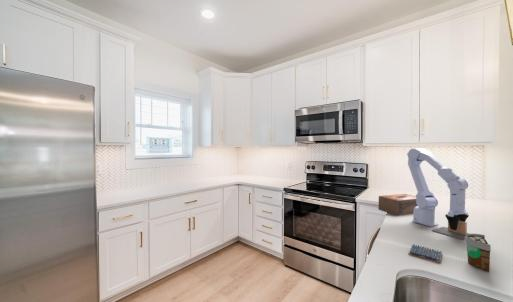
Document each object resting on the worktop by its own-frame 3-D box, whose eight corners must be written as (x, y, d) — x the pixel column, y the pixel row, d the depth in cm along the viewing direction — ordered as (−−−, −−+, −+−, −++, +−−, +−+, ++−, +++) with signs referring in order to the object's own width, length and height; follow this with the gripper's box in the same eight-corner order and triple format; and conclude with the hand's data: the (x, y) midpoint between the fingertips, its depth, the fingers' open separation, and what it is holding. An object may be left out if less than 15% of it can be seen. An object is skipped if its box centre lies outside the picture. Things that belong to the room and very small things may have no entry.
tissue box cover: (397, 216, 140) (398, 200, 140) (378, 210, 154) (378, 195, 154) (424, 212, 149) (425, 197, 149) (404, 207, 163) (404, 193, 163)
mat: (432, 231, 114) (432, 230, 114) (443, 227, 120) (443, 226, 120) (461, 239, 104) (461, 238, 104) (472, 235, 109) (472, 234, 109)
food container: (462, 255, 89) (462, 230, 88) (483, 260, 85) (484, 234, 85) (465, 267, 79) (466, 240, 79) (490, 274, 75) (490, 245, 75)
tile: (447, 230, 114) (448, 218, 114) (449, 229, 115) (449, 218, 115) (465, 235, 108) (465, 223, 108) (466, 234, 109) (467, 222, 109)
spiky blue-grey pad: (443, 255, 89) (443, 250, 89) (441, 265, 81) (441, 260, 81) (412, 247, 96) (412, 242, 96) (407, 255, 88) (407, 250, 88)
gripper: (460, 205, 105) (460, 233, 105) (474, 202, 111) (473, 229, 111) (442, 202, 111) (442, 228, 111) (456, 199, 118) (456, 224, 118)
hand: (456, 228), depth 112 cm, fingers open, 7 cm apart
